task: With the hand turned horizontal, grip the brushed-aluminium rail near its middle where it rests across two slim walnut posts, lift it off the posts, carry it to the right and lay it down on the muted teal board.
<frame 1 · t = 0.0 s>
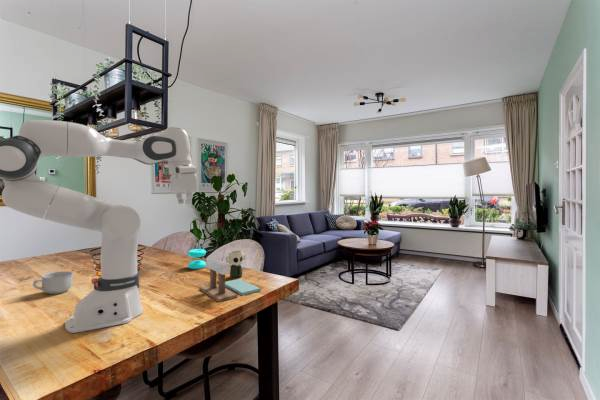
hand: (184, 203, 119), 39 cm above the table, tool pointing down, fingers open, 8 cm apart
board: (240, 287, 134), on the table
character mug: (236, 277, 152), on the table
rail: (217, 270, 127), point 10 cm above the table, touching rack
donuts: (197, 267, 171), on the table
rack: (217, 293, 127), on the table
teacup: (53, 293, 128), on the table
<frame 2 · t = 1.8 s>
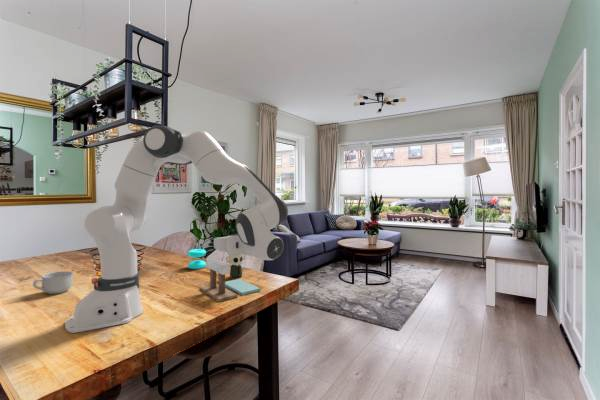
hand: (232, 238, 116), 25 cm above the table, tool horizontal, fingers open, 8 cm apart
nothing on the table moved.
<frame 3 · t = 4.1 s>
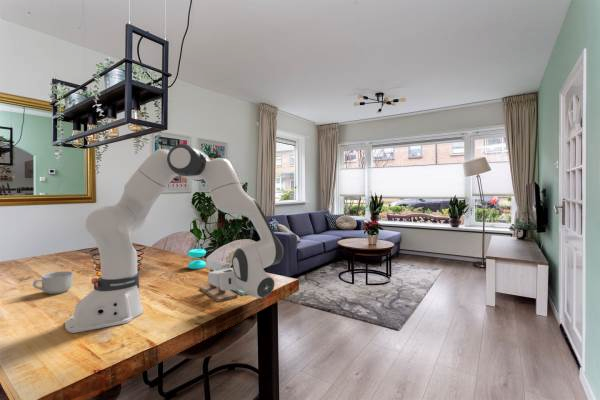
hand: (226, 269, 120), 12 cm above the table, tool horizontal, fingers open, 8 cm apart
nothing on the table moved.
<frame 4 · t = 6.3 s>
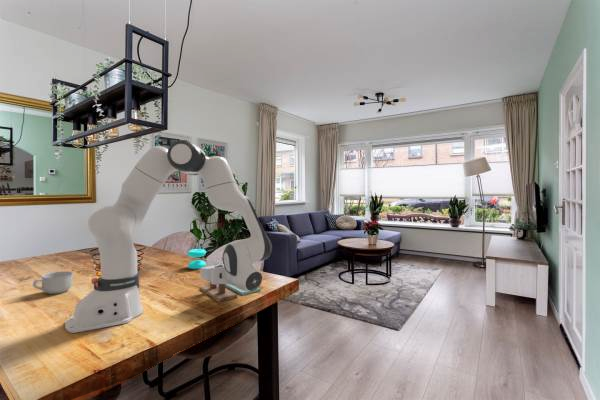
hand: (218, 265, 126), 12 cm above the table, tool horizontal, fingers closed on rail, 3 cm apart
rail: (217, 270, 127), point 10 cm above the table, touching gripper, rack
everything else where it was.
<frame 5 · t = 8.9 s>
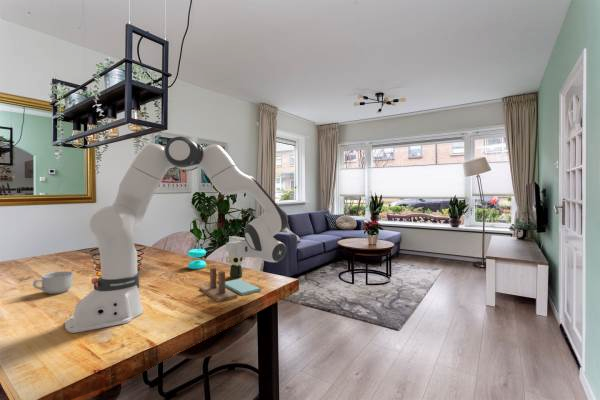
hand: (240, 242, 133), 21 cm above the table, tool horizontal, fingers closed on rail, 3 cm apart
rail: (240, 246, 133), point 19 cm above the table, touching gripper
everything else where it was.
when the fingers open (5 cm above the table, at t = 11.9 s): rail drops 2 cm, resting on board.
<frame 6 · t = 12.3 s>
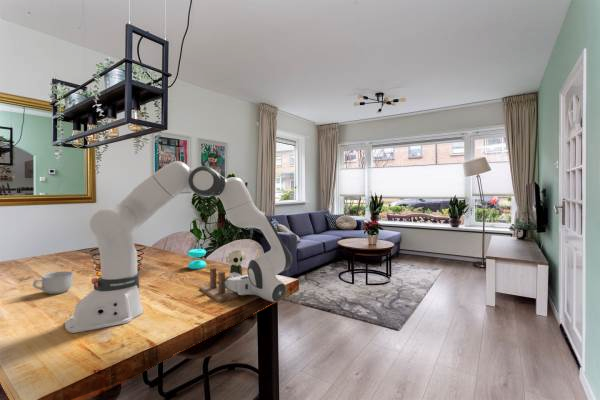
hand: (241, 276, 133), 5 cm above the table, tool horizontal, fingers open, 7 cm apart
rail: (240, 285, 134), point 1 cm above the table, touching board
everything else where it was.
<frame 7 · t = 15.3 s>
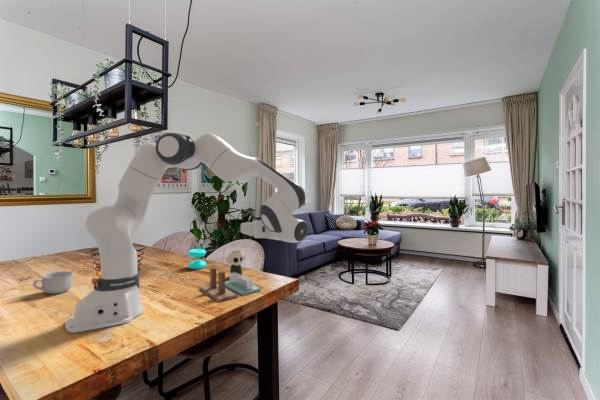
hand: (255, 225, 123), 30 cm above the table, tool horizontal, fingers open, 8 cm apart
nothing on the table moved.
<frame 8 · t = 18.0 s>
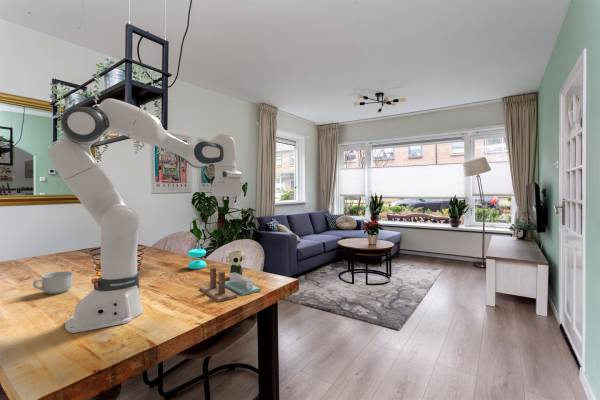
hand: (225, 207, 124), 37 cm above the table, tool pointing down, fingers open, 8 cm apart
nothing on the table moved.
at the end: rail inside the target area on the board (0.1 cm from its centre), point 1.2 cm above the board's base; rail touching board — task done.
